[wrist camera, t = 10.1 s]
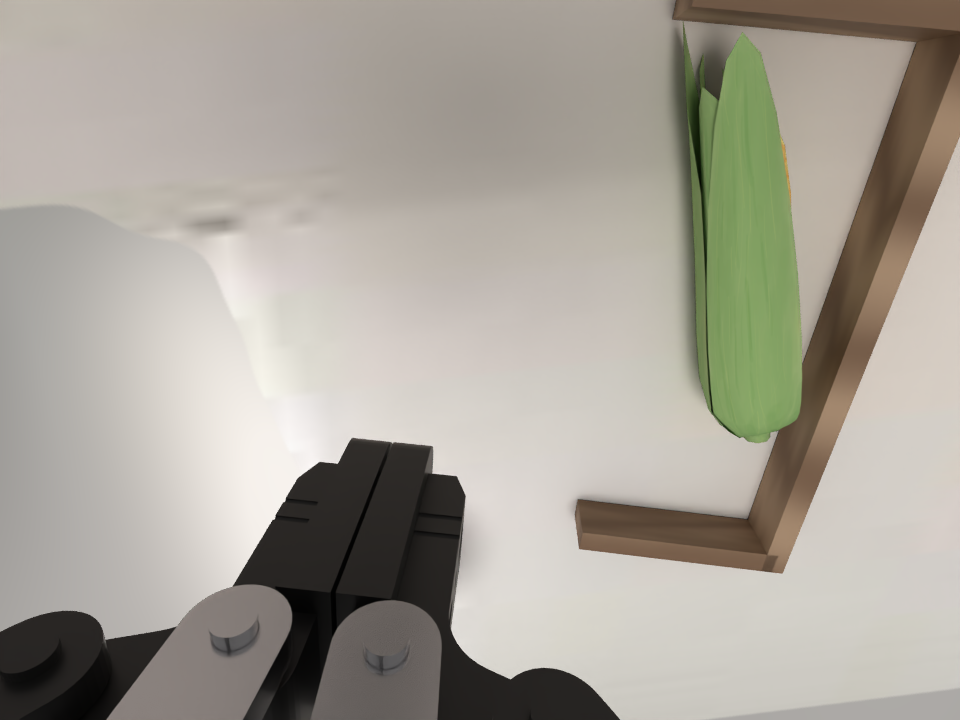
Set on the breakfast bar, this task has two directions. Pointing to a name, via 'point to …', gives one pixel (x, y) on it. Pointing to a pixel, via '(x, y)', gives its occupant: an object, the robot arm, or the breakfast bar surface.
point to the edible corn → (743, 250)
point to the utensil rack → (853, 292)
